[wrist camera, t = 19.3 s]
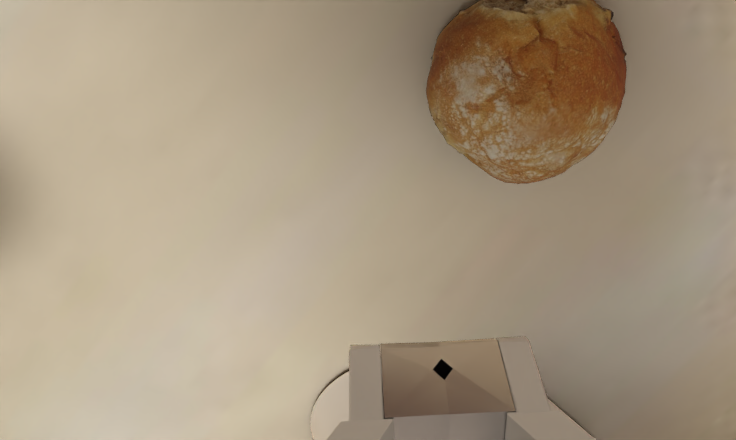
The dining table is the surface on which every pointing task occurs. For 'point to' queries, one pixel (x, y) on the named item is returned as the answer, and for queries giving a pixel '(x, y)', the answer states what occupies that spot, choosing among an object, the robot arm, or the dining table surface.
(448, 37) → the bread roll
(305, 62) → the dining table surface
